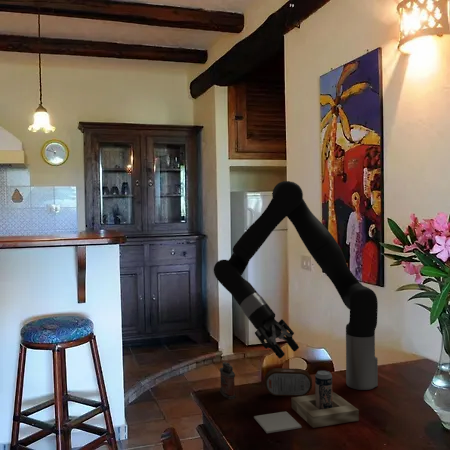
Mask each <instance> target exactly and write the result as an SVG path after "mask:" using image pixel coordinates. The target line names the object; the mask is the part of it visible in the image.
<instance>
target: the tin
mask: <svg viewBox="0 0 450 450" xmlns="http://www.w3.org/2000/svg"><path fill="white" fill-rule="evenodd" d="M264 387H265V389H266V391H267V392H268V393H269V394H271V395H272V396H277V397H300V396H307V395H308V394H309V393H310V392H311V391H312V387H313V378H312V376H311V374H310V373H309V372H308V371H307V370H305V369H302V368H285V367H284V368H283V367H275V368H271V369H269V371H267V372H266V374H265V376H264Z"/></svg>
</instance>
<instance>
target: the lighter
mask: <svg viewBox="0 0 450 450" xmlns="http://www.w3.org/2000/svg"><path fill="white" fill-rule="evenodd" d="M219 372H220V373H219V374H220V376H219V377H220V388H219V392H220V394H221V395H222V396H223V397H224V398H226V399H228V400H234V399H235V398H236V394H235V389H236V388H235V377H236V373H235V372H234V367H233V366H232V365H231V364H230V363H229V362H226V361H224V362H222V367H220V368H219Z"/></svg>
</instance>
